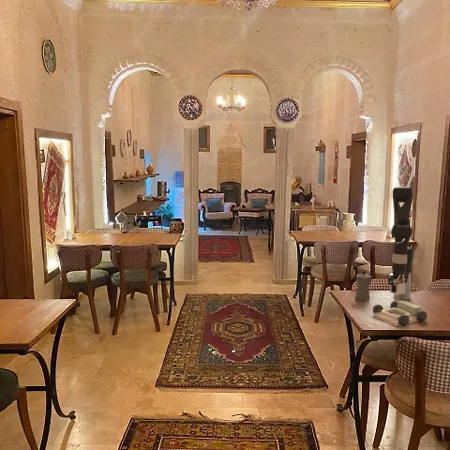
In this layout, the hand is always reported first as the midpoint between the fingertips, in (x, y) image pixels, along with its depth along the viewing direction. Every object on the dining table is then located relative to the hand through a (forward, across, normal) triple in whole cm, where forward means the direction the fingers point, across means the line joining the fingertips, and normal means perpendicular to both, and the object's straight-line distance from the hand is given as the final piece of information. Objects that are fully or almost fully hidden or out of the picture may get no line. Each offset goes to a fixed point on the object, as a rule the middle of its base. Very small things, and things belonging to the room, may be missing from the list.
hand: (397, 291), depth 244 cm
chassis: (+16, -3, 0) cm, 16 cm away
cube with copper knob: (+1, 0, 0) cm, 1 cm away
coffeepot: (+16, -11, -35) cm, 40 cm away
